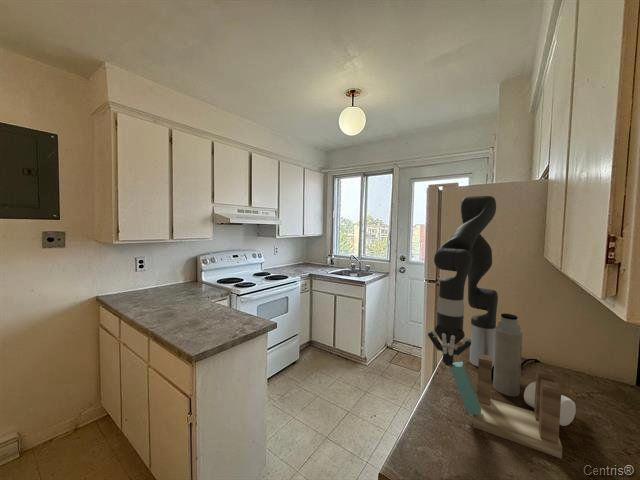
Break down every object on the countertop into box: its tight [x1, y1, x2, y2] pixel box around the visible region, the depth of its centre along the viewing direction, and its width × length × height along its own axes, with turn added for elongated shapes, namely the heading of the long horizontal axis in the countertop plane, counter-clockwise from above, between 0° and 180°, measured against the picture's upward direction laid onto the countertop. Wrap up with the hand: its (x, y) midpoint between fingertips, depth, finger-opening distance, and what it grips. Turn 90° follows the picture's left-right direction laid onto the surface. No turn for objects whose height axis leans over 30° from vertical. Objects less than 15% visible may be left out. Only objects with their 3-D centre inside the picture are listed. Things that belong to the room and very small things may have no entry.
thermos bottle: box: [492, 312, 523, 397], centre depth 97 cm, size 8×8×28 cm
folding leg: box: [449, 361, 481, 416], centre depth 82 cm, size 4×4×14 cm
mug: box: [523, 381, 577, 427], centre depth 85 cm, size 12×10×8 cm
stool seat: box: [472, 354, 563, 459], centre depth 79 cm, size 13×20×18 cm, turn 58°
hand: (447, 364), depth 85 cm, fingers closed
